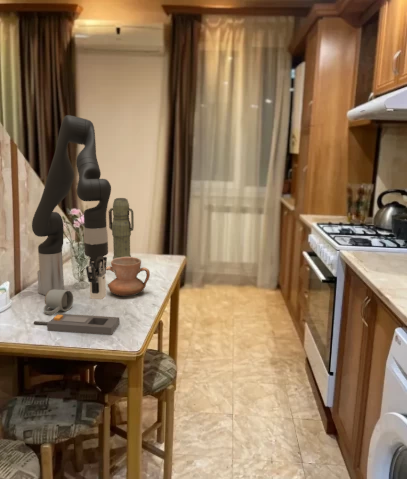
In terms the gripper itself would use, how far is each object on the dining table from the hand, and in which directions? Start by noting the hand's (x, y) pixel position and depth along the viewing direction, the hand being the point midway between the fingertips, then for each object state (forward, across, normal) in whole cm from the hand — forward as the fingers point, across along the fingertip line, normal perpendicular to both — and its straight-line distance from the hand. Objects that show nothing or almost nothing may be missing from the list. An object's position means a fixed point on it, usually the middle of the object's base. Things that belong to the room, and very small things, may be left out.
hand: (97, 290), depth 154 cm
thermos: (+13, -68, -12) cm, 71 cm away
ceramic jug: (+14, -36, 0) cm, 39 cm away
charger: (+2, 0, 0) cm, 2 cm away
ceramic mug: (+14, -14, -21) cm, 28 cm away
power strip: (+13, 0, -9) cm, 16 cm away
